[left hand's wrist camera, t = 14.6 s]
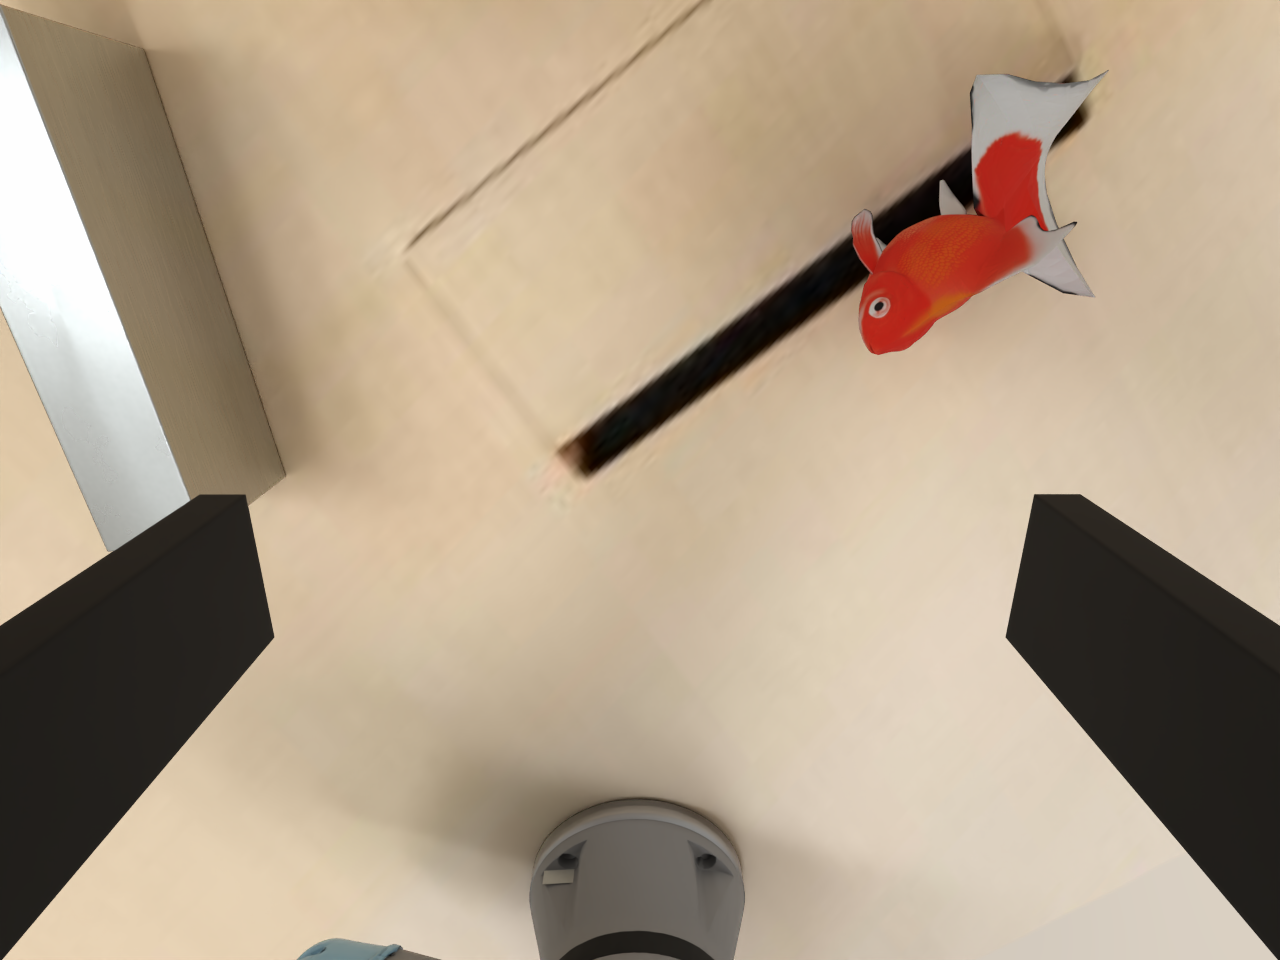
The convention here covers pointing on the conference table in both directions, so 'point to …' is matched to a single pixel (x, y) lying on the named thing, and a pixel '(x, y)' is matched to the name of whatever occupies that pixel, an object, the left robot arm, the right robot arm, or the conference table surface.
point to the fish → (976, 219)
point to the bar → (118, 284)
